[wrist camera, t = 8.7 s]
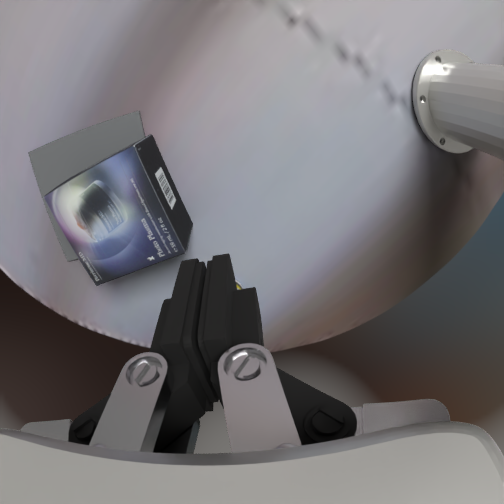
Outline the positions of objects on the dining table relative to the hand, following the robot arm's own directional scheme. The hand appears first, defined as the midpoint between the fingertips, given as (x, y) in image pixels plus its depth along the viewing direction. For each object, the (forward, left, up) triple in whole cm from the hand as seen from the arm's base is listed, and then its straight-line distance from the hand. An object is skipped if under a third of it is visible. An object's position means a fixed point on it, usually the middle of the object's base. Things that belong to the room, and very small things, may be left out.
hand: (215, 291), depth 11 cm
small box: (+5, +1, -17) cm, 18 cm away
